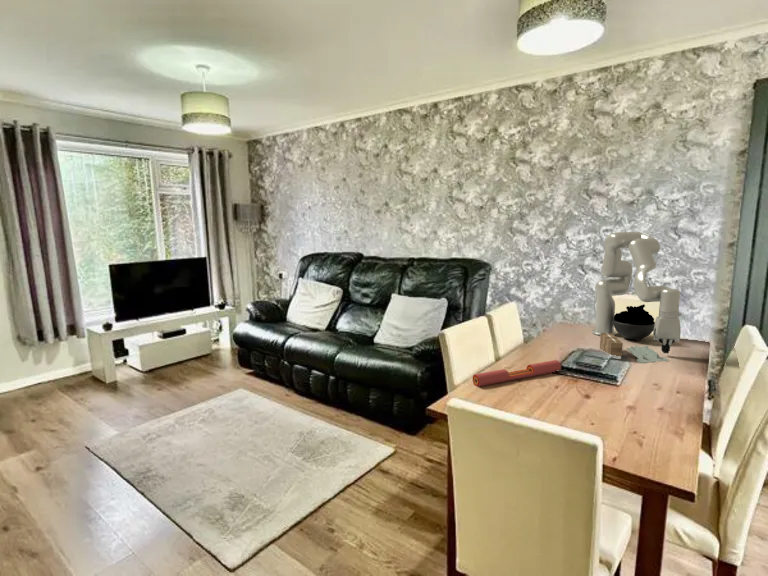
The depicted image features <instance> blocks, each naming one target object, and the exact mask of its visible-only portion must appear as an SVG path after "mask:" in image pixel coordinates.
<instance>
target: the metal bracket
mask: <svg viewBox="0 0 768 576" xmlns="http://www.w3.org/2000/svg"><path fill="white" fill-rule="evenodd" d="M625 349H626V350H627V351H628V352H629V353H630V354H631V355H633V356H634V357H636V358H637V359H635V361H636V362H637V363H638V364H648V363H647V362H651V363H657V362H656V361H666V362H668V361H667V360H669V359H668V358H667V357H666V356H665V357H664V356H663V357H662V356H659V353H658V352H656V351H655V350H653V349H651V348H650V347H648V345H647V344H645V345H644V346H638V345H637V344H635V345H634V346H632V345H631V346H630V347H626V348H625Z"/></svg>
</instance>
